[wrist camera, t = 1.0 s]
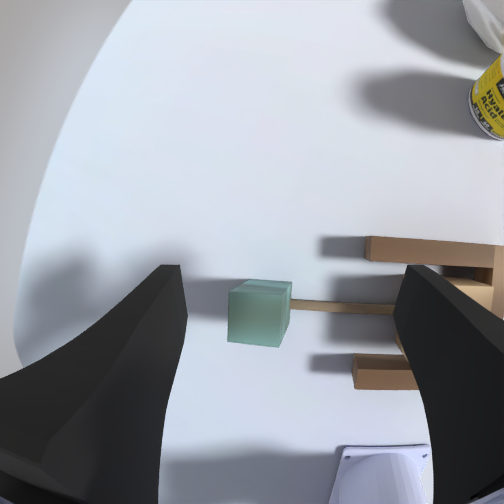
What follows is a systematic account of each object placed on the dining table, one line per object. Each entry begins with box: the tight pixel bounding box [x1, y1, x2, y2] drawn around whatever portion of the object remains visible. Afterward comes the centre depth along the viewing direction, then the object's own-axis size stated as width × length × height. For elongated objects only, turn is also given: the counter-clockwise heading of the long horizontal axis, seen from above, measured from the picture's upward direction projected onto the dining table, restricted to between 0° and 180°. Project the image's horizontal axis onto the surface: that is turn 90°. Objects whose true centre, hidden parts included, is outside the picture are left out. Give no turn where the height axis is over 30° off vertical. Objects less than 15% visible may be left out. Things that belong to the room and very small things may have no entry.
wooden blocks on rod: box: [227, 274, 494, 363], centre depth 19 cm, size 5×16×6 cm, turn 88°
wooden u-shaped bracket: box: [352, 236, 504, 390], centre depth 19 cm, size 10×10×3 cm
